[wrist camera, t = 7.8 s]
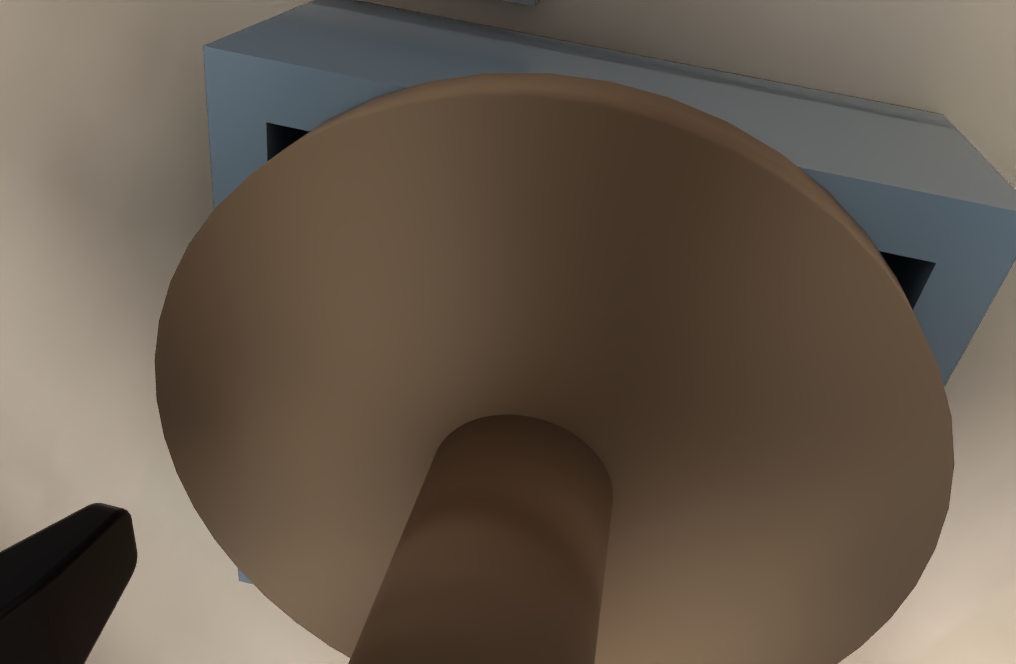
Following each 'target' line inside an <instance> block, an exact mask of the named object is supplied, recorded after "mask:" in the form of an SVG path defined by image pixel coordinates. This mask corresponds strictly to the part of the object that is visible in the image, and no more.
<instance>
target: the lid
mask: <svg viewBox="0 0 1016 664" xmlns="http://www.w3.org/2000/svg"><path fill="white" fill-rule="evenodd" d="M155 375H156V396H157V403H158V408H159V413H160V418H161V423H162V428H163V433H164V437H165V440H166V443H167V446H168V449H169V452H170V455H171V458H172V460H173V463H174V466H175V469H176V472H177V474H178V476H179V478H180V480H181V482H182V484H183V486H184V488H185V490H186V492H187V494H188V496H189V498H190V500H191V502H192V504H193V506H194V508H195V510H196V511H197V513H198V514H199V516H200V517H201V519H202V520H203V522H204V524H205V525H206V527H207V528H208V530H209V531H210V533H211V534H212V536H213V537H214V539H215V540H216V542H217V543H218V544H219V545H220V546H221V548H222V549H223V550H224V551H225V553H226V554H227V555H228V556H229V558H230V559H231V560H232V561H233V562H234V564H235V565H236V566H237V567H238V569H239V570H240V571H241V572H242V573H243V574H244V575H245V576H246V577H247V578H248V579H249V580H250V581H251V582H252V583H253V584H254V585H255V586H256V587H257V588H258V589H259V590H260V591H261V592H262V593H263V594H264V595H265V596H266V597H267V598H268V599H269V600H270V601H272V602H273V603H274V604H275V605H276V606H278V607H279V608H280V609H281V610H282V611H283V612H285V613H286V614H287V615H288V616H289V617H291V618H292V619H293V620H294V621H295V622H296V623H298V624H299V625H301V626H302V627H304V628H305V629H306V630H308V631H309V632H311V633H312V634H313V635H315V636H316V637H318V638H319V639H320V640H322V641H323V642H325V643H326V644H328V645H329V646H331V647H332V648H334V649H336V650H338V651H339V652H341V653H343V654H344V655H346V656H348V657H349V658H351V659H350V661H349V664H837V663H839V662H840V661H841V660H843V659H844V658H846V657H847V656H848V655H850V654H851V653H853V652H854V651H855V650H857V649H858V648H860V647H861V646H862V645H863V644H864V643H865V642H866V641H867V640H868V639H869V638H870V637H871V636H873V635H874V634H875V633H876V632H877V631H878V630H879V629H880V628H881V627H882V626H883V625H884V624H885V623H886V622H887V621H888V620H889V619H890V618H891V617H892V616H893V614H894V613H895V612H896V611H897V609H898V608H899V607H900V605H901V604H902V603H903V601H904V600H905V599H906V598H907V596H908V595H909V594H910V592H911V591H912V590H913V589H914V587H915V586H916V584H917V582H918V580H919V578H920V577H921V575H922V573H923V571H924V569H925V567H926V565H927V564H928V562H929V560H930V558H931V556H932V554H933V552H934V550H935V548H936V545H937V542H938V539H939V536H940V533H941V530H942V527H943V524H944V521H945V517H946V514H947V511H948V508H949V500H950V493H951V485H952V477H953V469H954V452H953V436H952V419H951V414H950V410H949V406H948V402H947V398H946V394H945V390H944V386H943V382H942V378H941V374H940V370H939V367H938V365H937V362H936V360H935V358H934V356H933V353H932V351H931V349H930V347H929V345H928V342H927V340H926V338H925V336H924V333H923V331H922V329H921V327H920V325H919V322H918V320H917V318H916V316H915V314H914V312H913V310H912V308H911V306H910V304H909V302H908V300H907V298H906V295H905V293H904V291H903V289H902V287H901V285H900V283H899V281H898V279H897V277H896V276H895V274H894V273H893V271H892V270H891V268H890V267H889V265H888V264H887V262H886V261H885V259H884V258H883V256H882V255H881V253H880V252H879V250H878V249H877V247H876V246H875V244H874V243H873V241H872V240H871V238H870V237H869V235H868V234H867V232H866V231H865V230H864V229H863V228H862V227H861V226H860V225H859V224H858V223H857V222H856V221H855V219H854V218H853V217H852V216H851V215H850V214H849V213H848V212H847V211H846V210H845V209H844V208H843V206H842V205H841V204H840V203H839V202H838V201H837V200H836V199H835V198H834V197H833V196H832V195H831V193H830V192H829V191H828V190H826V189H825V188H824V187H823V186H821V185H820V184H819V183H818V182H816V181H815V180H814V179H813V178H811V177H810V176H809V175H808V174H806V173H805V172H804V171H803V170H801V169H800V168H799V167H798V166H796V165H795V164H794V163H793V162H791V161H790V160H789V159H788V158H786V157H785V156H784V155H783V154H781V153H780V152H778V151H776V150H775V149H773V148H771V147H770V146H768V145H766V144H765V143H763V142H761V141H759V140H758V139H756V138H754V137H753V136H751V135H749V134H748V133H746V132H744V131H743V130H741V129H739V128H738V127H736V126H734V125H732V124H731V123H729V122H727V121H725V120H722V119H720V118H717V117H715V116H713V115H710V114H708V113H706V112H703V111H701V110H698V109H696V108H694V107H691V106H689V105H687V104H684V103H682V102H679V101H677V100H675V99H672V98H669V97H666V96H662V95H658V94H655V93H651V92H647V91H644V90H640V89H636V88H633V87H629V86H625V85H621V84H618V83H614V82H610V81H604V80H596V79H589V78H581V77H573V76H566V75H558V74H550V73H485V74H478V75H471V76H464V77H457V78H451V79H444V80H437V81H430V82H426V83H422V84H419V85H415V86H412V87H409V88H405V89H402V90H398V91H395V92H392V93H388V94H385V95H381V96H378V97H375V98H373V99H371V100H368V101H366V102H364V103H362V104H360V105H358V106H356V107H353V108H351V109H349V110H347V111H345V112H343V113H341V114H338V115H336V116H334V117H332V118H330V119H328V120H326V121H325V122H323V123H322V124H320V125H319V126H317V127H316V128H314V129H313V130H311V131H310V132H308V133H307V134H305V135H304V136H302V137H301V138H299V139H298V140H297V141H295V142H294V143H292V144H291V145H289V146H288V147H286V148H285V149H284V150H282V151H281V152H280V153H278V154H277V155H276V156H274V157H273V158H272V159H270V160H269V161H268V162H266V163H265V164H264V165H262V166H261V167H260V168H258V169H257V170H256V171H254V172H253V173H252V174H250V175H249V176H248V177H247V178H246V179H245V180H244V181H243V182H242V183H241V184H240V185H239V186H238V187H237V188H236V189H235V190H234V191H233V192H232V193H231V194H229V195H228V196H227V197H226V198H225V199H224V200H223V201H222V202H221V203H220V204H219V205H218V206H217V207H216V208H215V209H214V211H213V212H212V214H211V215H210V216H209V218H208V219H207V220H206V222H205V223H204V224H203V226H202V227H201V228H200V230H199V231H198V232H197V234H196V235H195V237H194V238H193V239H192V241H191V242H190V243H189V245H188V247H187V249H186V251H185V253H184V255H183V257H182V259H181V262H180V264H179V266H178V268H177V270H176V272H175V274H174V276H173V278H172V280H171V282H170V285H169V289H168V292H167V296H166V299H165V303H164V306H163V309H162V313H161V316H160V320H159V327H158V336H157V345H156V354H155Z"/></svg>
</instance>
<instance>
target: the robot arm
mask: <svg viewBox="0 0 1016 664" xmlns="http://www.w3.org/2000/svg"><path fill="white" fill-rule="evenodd" d="M136 563H137V548H136V542H135V536H134V530H133V524H132V518H131V515H130V513H129V512H128V511H127V510H125V509H123V508H119V507H115V506H111V505H107V504H103V503H94V504H91V505H88V506H86V507H84V508H82V509H80V510H78V511H76V512H75V513H73V514H71V515H69V516H67V517H65V518H63V519H61V520H59V521H58V522H56V523H54V524H52V525H50V526H48V527H46V528H44V529H42V530H41V531H39V532H37V533H35V534H33V535H31V536H29V537H27V538H26V539H24V540H22V541H20V542H18V543H16V544H14V545H12V546H10V547H9V548H7V549H5V550H3V551H1V552H0V664H85V662H86V660H87V658H88V656H89V654H90V653H91V651H92V649H93V647H94V645H95V643H96V641H97V640H98V638H99V636H100V634H101V632H102V630H103V628H104V627H105V625H106V623H107V621H108V619H109V617H110V615H111V614H112V612H113V610H114V608H115V606H116V604H117V602H118V601H119V599H120V597H121V595H122V593H123V591H124V589H125V588H126V586H127V584H128V582H129V580H130V578H131V576H132V574H133V572H134V570H135V567H136Z"/></svg>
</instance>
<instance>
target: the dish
mask: <svg viewBox="0 0 1016 664" xmlns="http://www.w3.org/2000/svg"><path fill="white" fill-rule="evenodd" d="M203 52H204V67H205V82H206V97H207V112H208V127H209V142H210V157H211V172H212V187H213V202H214V209H215V208H216V207H217V206H218V205H219V204H220V203H221V202H222V201H223V200H224V199H225V198H226V197H227V196H228V195H229V194H231V193H232V192H233V191H234V190H235V189H236V188H237V187H238V186H239V185H240V184H241V183H242V182H243V181H244V180H245V179H246V178H247V177H248V176H249V175H250V174H252V173H253V172H254V171H256V170H257V169H258V168H260V167H261V166H262V165H264V164H265V163H266V162H268V161H269V160H270V159H272V158H273V157H274V156H276V155H277V154H278V153H280V152H281V151H282V150H284V149H285V148H286V147H288V146H289V145H291V144H292V143H294V142H295V141H297V140H298V139H299V138H301V137H302V136H304V135H305V134H307V133H308V132H310V131H311V130H313V129H314V128H316V127H317V126H319V125H320V124H322V123H323V122H325V121H326V120H328V119H330V118H332V117H334V116H336V115H338V114H341V113H343V112H345V111H347V110H349V109H351V108H353V107H356V106H358V105H360V104H362V103H364V102H366V101H368V100H371V99H373V98H375V97H378V96H381V95H385V94H388V93H392V92H395V91H398V90H402V89H405V88H409V87H412V86H415V85H419V84H422V83H426V82H430V81H437V80H444V79H451V78H457V77H464V76H471V75H478V74H485V73H550V74H558V75H566V76H573V77H581V78H589V79H596V80H604V81H610V82H614V83H618V84H621V85H625V86H629V87H633V88H636V89H640V90H644V91H647V92H651V93H655V94H658V95H662V96H666V97H669V98H672V99H675V100H677V101H679V102H682V103H684V104H687V105H689V106H691V107H694V108H696V109H698V110H701V111H703V112H706V113H708V114H710V115H713V116H715V117H717V118H720V119H722V120H725V121H727V122H729V123H731V124H732V125H734V126H736V127H738V128H739V129H741V130H743V131H744V132H746V133H748V134H749V135H751V136H753V137H754V138H756V139H758V140H759V141H761V142H763V143H765V144H766V145H768V146H770V147H771V148H773V149H775V150H776V151H778V152H780V153H781V154H783V155H784V156H785V157H786V158H788V159H789V160H790V161H791V162H793V163H794V164H795V165H796V166H798V167H799V168H800V169H801V170H803V171H804V172H805V173H806V174H808V175H809V176H810V177H811V178H813V179H814V180H815V181H816V182H818V183H819V184H820V185H821V186H823V187H824V188H825V189H826V190H828V191H829V192H830V193H831V195H832V196H833V197H834V198H835V199H836V200H837V201H838V202H839V203H840V204H841V205H842V206H843V208H844V209H845V210H846V211H847V212H848V213H849V214H850V215H851V216H852V217H853V218H854V219H855V221H856V222H857V223H858V224H859V225H860V226H861V227H862V228H863V229H864V230H865V231H866V232H867V234H868V235H869V237H870V238H871V240H872V241H873V243H874V244H875V246H876V247H877V249H878V250H879V252H880V253H881V255H882V256H883V258H884V259H885V261H886V262H887V264H888V265H889V267H890V268H891V270H892V271H893V273H894V274H895V276H896V277H897V279H898V281H899V283H900V285H901V287H902V289H903V291H904V293H905V295H906V298H907V300H908V302H909V304H910V306H911V308H912V310H913V312H914V314H915V316H916V318H917V320H918V322H919V325H920V327H921V329H922V331H923V333H924V336H925V338H926V340H927V342H928V345H929V347H930V349H931V351H932V353H933V356H934V358H935V360H936V362H937V365H938V367H939V370H940V374H941V378H942V382H943V386H944V387H945V385H946V383H947V381H948V379H949V378H950V376H951V374H952V372H953V370H954V369H955V367H956V365H957V363H958V361H959V360H960V358H961V356H962V354H963V353H964V351H965V349H966V347H967V345H968V344H969V342H970V340H971V338H972V336H973V335H974V333H975V331H976V329H977V327H978V326H979V324H980V322H981V320H982V319H983V317H984V315H985V313H986V311H987V310H988V308H989V306H990V304H991V302H992V301H993V299H994V297H995V295H996V293H997V292H998V290H999V288H1000V286H1001V285H1002V283H1003V281H1004V279H1005V277H1006V276H1007V274H1008V272H1009V270H1010V268H1011V267H1012V265H1013V263H1014V261H1015V259H1016V190H1015V189H1014V188H1013V187H1012V186H1011V185H1010V184H1009V183H1008V182H1007V181H1006V180H1005V179H1004V178H1003V177H1002V176H1001V175H1000V174H999V173H998V171H997V170H996V169H995V168H994V167H993V166H992V165H991V164H990V163H989V162H988V161H987V160H986V159H985V158H984V157H983V156H982V155H981V154H980V153H979V152H978V151H977V150H976V148H975V147H974V146H973V145H972V144H971V143H970V142H969V141H968V140H967V139H966V138H965V137H964V136H963V135H962V134H961V133H960V132H959V131H958V130H957V129H956V128H955V127H954V125H953V124H952V123H951V122H950V121H949V120H948V119H947V118H946V117H945V116H944V115H943V114H938V113H933V112H928V111H922V110H917V109H912V108H907V107H902V106H897V105H892V104H886V103H881V102H876V101H871V100H866V99H861V98H855V97H850V96H845V95H840V94H835V93H830V92H825V91H819V90H814V89H809V88H804V87H799V86H794V85H789V84H783V83H778V82H773V81H768V80H763V79H758V78H753V77H747V76H742V75H737V74H732V73H727V72H722V71H716V70H711V69H706V68H701V67H696V66H691V65H686V64H680V63H675V62H670V61H665V60H660V59H655V58H650V57H644V56H639V55H634V54H629V53H624V52H619V51H613V50H608V49H603V48H598V47H593V46H588V45H583V44H577V43H572V42H567V41H562V40H557V39H552V38H547V37H541V36H536V35H531V34H526V33H521V32H516V31H511V30H505V29H500V28H495V27H490V26H485V25H480V24H474V23H469V22H464V21H459V20H454V19H449V18H444V17H438V16H433V15H428V14H423V13H418V12H413V11H408V10H402V9H397V8H392V7H387V6H382V5H377V4H371V3H366V2H361V1H356V0H314V1H311V2H309V3H306V4H304V5H302V6H299V7H297V8H294V9H292V10H289V11H287V12H285V13H282V14H280V15H277V16H275V17H272V18H270V19H268V20H265V21H263V22H260V23H258V24H255V25H253V26H251V27H248V28H246V29H243V30H241V31H239V32H236V33H234V34H231V35H229V36H226V37H224V38H222V39H219V40H217V41H214V42H212V43H209V44H207V45H205V46H203ZM238 574H239V581H242V582H246V583H250V584H253V583H252V582H251V581H250V580H249V579H248V578H247V577H246V576H245V575H244V574H243V573H242V572H241V571H240V570H239V569H238Z"/></svg>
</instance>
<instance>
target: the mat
mask: <svg viewBox="0 0 1016 664" xmlns="http://www.w3.org/2000/svg"><path fill="white" fill-rule="evenodd" d="M502 1H508V2H513V3H518V4H523V5H529V6H534V7H535V5H536V4H537V3H538V2H539V0H502Z"/></svg>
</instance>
